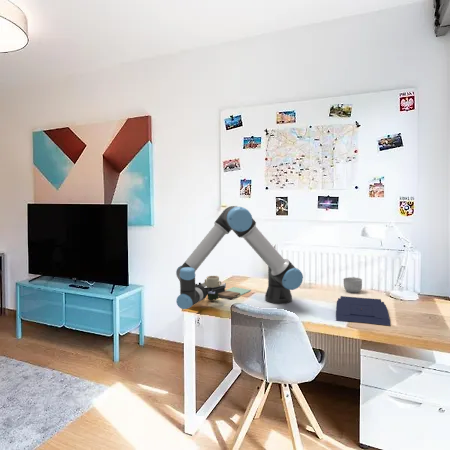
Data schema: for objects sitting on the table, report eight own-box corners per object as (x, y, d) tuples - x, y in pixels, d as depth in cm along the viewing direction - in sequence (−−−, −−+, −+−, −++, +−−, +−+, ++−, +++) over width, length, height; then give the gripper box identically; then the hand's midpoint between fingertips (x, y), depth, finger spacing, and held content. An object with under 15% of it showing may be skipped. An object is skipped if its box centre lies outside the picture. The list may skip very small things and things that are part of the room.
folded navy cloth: (384, 304, 195) (384, 298, 194) (390, 331, 167) (391, 323, 166) (336, 300, 202) (336, 294, 202) (335, 325, 175) (335, 318, 174)
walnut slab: (240, 296, 215) (240, 292, 215) (231, 300, 208) (231, 296, 208) (218, 292, 224) (218, 288, 224) (209, 295, 217) (209, 292, 217)
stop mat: (251, 290, 227) (251, 289, 226) (240, 295, 217) (240, 294, 217) (233, 287, 234) (233, 286, 234) (222, 292, 224) (222, 291, 224)
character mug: (224, 299, 207) (224, 276, 206) (218, 302, 201) (218, 279, 200) (208, 296, 212) (207, 274, 211) (201, 299, 206) (201, 277, 205)
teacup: (359, 295, 216) (359, 281, 215) (340, 292, 222) (341, 279, 222) (364, 289, 228) (365, 277, 227) (347, 287, 234) (347, 275, 233)
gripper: (178, 298, 195) (198, 288, 215) (217, 304, 185) (234, 292, 205) (178, 285, 194) (198, 276, 214) (217, 289, 184) (234, 279, 204)
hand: (216, 284), depth 209 cm, fingers closed on character mug, 11 cm apart
